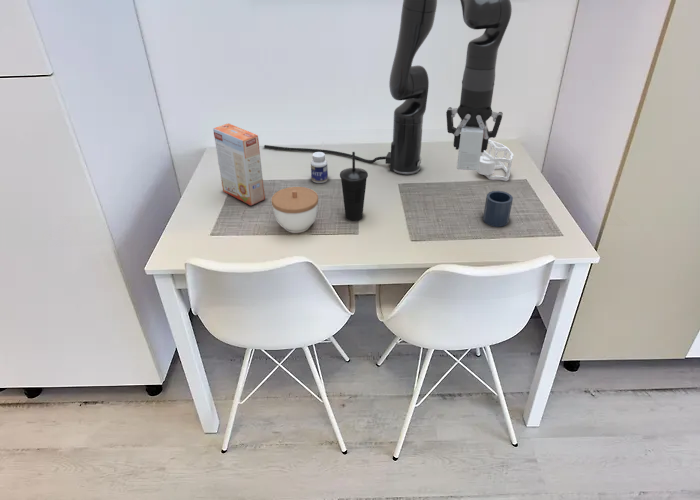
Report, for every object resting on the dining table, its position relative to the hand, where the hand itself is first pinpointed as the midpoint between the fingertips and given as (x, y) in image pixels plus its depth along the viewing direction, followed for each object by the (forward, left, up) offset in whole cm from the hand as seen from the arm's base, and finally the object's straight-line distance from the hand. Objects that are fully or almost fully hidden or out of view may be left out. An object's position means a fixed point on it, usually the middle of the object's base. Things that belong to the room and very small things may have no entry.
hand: (469, 149), depth 138 cm
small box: (0, 0, -4) cm, 4 cm away
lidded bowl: (-44, -15, -22) cm, 51 cm away
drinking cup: (-30, -6, -22) cm, 37 cm away
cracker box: (-66, -3, -22) cm, 69 cm away
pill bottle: (-47, +13, -22) cm, 53 cm away
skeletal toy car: (+4, +36, -22) cm, 42 cm away
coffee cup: (+9, +3, -22) cm, 24 cm away
